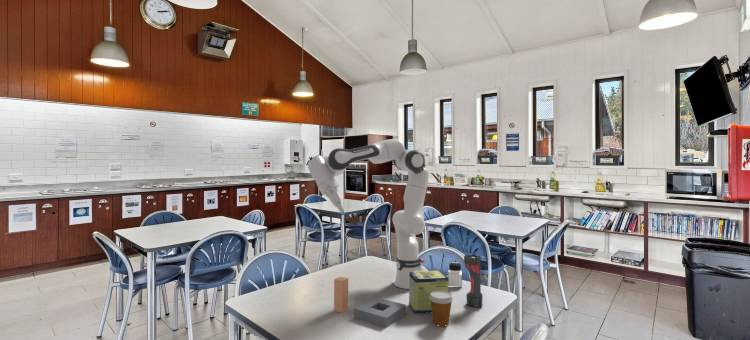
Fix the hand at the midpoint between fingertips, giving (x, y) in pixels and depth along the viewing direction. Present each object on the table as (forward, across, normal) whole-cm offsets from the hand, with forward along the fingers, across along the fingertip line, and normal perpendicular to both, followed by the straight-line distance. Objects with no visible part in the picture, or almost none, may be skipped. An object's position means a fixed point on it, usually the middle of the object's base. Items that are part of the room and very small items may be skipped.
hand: (343, 212), depth 177 cm
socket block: (+47, -10, +8) cm, 49 cm away
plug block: (+37, -4, +22) cm, 43 cm away
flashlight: (+67, 0, -31) cm, 74 cm away
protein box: (+57, -4, -12) cm, 58 cm away
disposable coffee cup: (+61, -19, -12) cm, 65 cm away
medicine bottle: (+62, +25, -33) cm, 74 cm away
